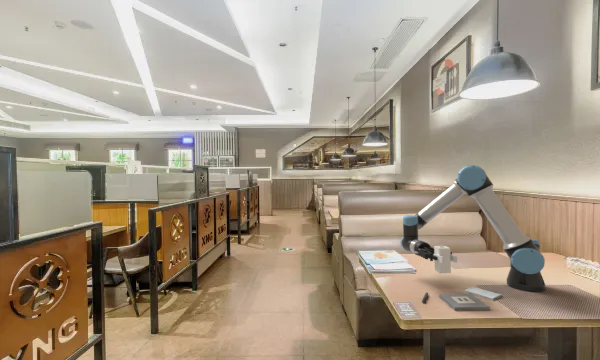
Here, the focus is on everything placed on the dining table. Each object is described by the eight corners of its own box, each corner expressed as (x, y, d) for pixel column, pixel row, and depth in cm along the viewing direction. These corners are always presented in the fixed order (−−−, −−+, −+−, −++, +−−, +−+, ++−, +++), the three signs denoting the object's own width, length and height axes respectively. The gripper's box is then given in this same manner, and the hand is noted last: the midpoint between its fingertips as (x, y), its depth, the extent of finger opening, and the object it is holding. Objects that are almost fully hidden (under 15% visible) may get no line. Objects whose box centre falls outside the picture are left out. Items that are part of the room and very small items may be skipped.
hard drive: (502, 294, 133) (473, 286, 144) (492, 298, 129) (464, 289, 140) (502, 298, 133) (473, 289, 144) (492, 302, 129) (464, 293, 140)
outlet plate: (470, 296, 134) (470, 293, 134) (489, 309, 120) (489, 305, 120) (439, 296, 135) (439, 293, 135) (454, 310, 121) (454, 306, 121)
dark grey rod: (425, 294, 137) (425, 292, 137) (428, 295, 137) (428, 292, 137) (421, 303, 128) (421, 300, 128) (424, 303, 128) (424, 300, 128)
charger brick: (445, 269, 138) (445, 245, 138) (450, 273, 133) (450, 247, 133) (434, 269, 138) (434, 245, 138) (439, 273, 133) (438, 248, 133)
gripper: (437, 254, 154) (469, 267, 131) (403, 256, 152) (430, 270, 129) (437, 240, 154) (469, 250, 131) (403, 242, 152) (429, 252, 129)
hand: (449, 259), depth 130 cm, fingers closed on charger brick, 6 cm apart
